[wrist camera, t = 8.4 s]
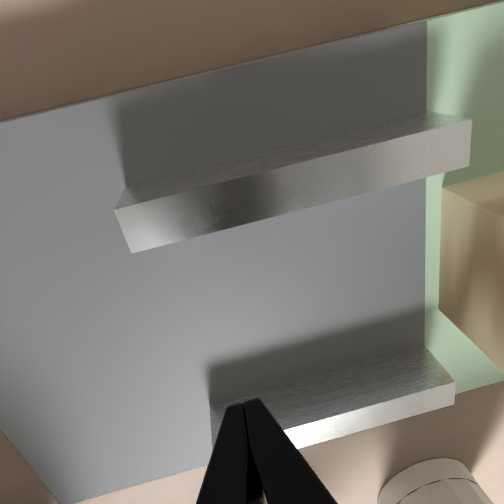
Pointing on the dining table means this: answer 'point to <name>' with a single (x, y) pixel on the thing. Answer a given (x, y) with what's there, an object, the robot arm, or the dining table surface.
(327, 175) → the channel rails
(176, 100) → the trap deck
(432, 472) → the cup
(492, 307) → the beech block
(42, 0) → the dining table surface
